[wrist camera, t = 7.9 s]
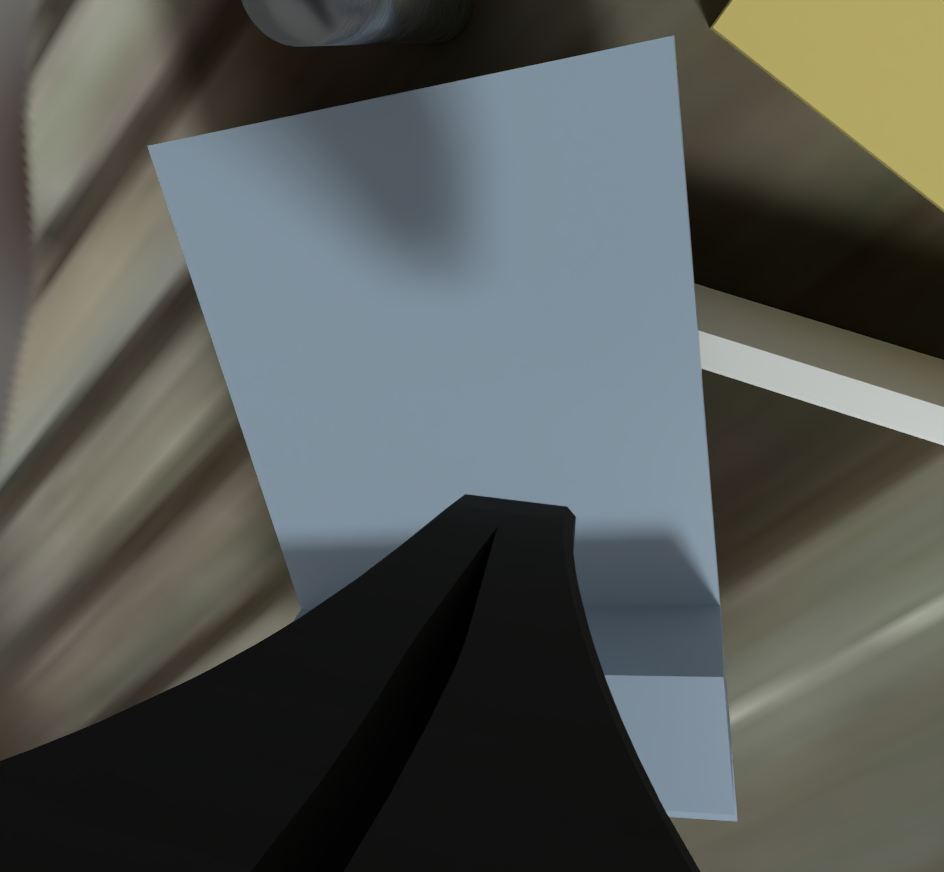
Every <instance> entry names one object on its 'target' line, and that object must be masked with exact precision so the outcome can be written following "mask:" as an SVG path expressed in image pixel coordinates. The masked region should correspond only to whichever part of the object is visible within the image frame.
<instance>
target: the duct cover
mask: <svg viewBox="0 0 944 872" xmlns="http://www.w3.org/2000/svg"><path fill="white" fill-rule="evenodd" d="M148 149H149V152H150V155H151V158H152V161H153V164H154V167H155V170H156V173H157V176H158V179H159V182H160V185H161V188H162V191H163V194H164V197H165V200H166V203H167V206H168V209H169V212H170V215H171V218H172V221H173V224H174V227H175V230H176V233H177V236H178V239H179V242H180V245H181V248H182V251H183V254H184V257H185V260H186V263H187V266H188V269H189V272H190V275H191V278H192V281H193V284H194V287H195V290H196V293H197V296H198V299H199V302H200V305H201V308H202V312H203V315H204V318H205V321H206V324H207V327H208V330H209V333H210V336H211V339H212V342H213V345H214V348H215V351H216V354H217V357H218V360H219V363H220V366H221V369H222V372H223V375H224V378H225V381H226V384H227V387H228V390H229V393H230V396H231V399H232V402H233V405H234V408H235V411H236V414H237V417H238V420H239V423H240V426H241V429H242V432H243V435H244V438H245V441H246V444H247V447H248V450H249V453H250V456H251V459H252V462H253V465H254V468H255V471H256V474H257V477H258V480H259V483H260V486H261V489H262V492H263V495H264V498H265V501H266V504H267V507H268V510H269V513H270V516H271V519H272V522H273V525H274V528H275V531H276V534H277V537H278V540H279V543H280V546H281V549H282V552H283V555H284V558H285V561H286V564H287V567H288V570H289V573H290V576H291V579H292V582H293V585H294V588H295V591H296V594H297V597H298V600H299V603H300V606H301V611H300V612H299V614H298V615H297V617H296V618H295V620H297V619H299V618H300V617H302V616H303V615H304V614H306V613H307V612H309V611H310V610H312V609H313V608H315V607H316V606H318V605H319V604H321V603H322V602H324V601H325V600H326V599H328V598H329V597H331V596H332V595H334V594H335V593H337V592H338V591H340V590H341V589H343V588H344V587H346V586H347V585H348V584H350V583H351V582H353V581H354V580H356V579H357V578H358V577H360V576H361V575H362V574H364V573H365V572H366V571H368V570H369V569H370V568H371V567H373V566H374V565H375V564H377V563H378V562H379V561H381V560H382V559H383V558H385V557H386V556H387V555H389V554H390V553H391V552H393V551H394V550H395V549H396V548H398V547H399V546H400V545H401V544H403V543H404V542H405V541H406V540H408V539H409V538H410V537H411V536H413V535H414V534H415V533H416V532H418V531H419V530H420V529H421V528H423V527H424V526H425V525H426V524H428V523H429V522H430V521H431V520H433V519H434V518H435V517H436V516H437V515H439V514H440V513H441V512H442V511H444V510H445V509H446V508H448V507H449V506H450V505H451V504H453V503H454V502H455V501H457V500H458V499H459V498H461V497H462V496H463V495H465V494H469V495H477V496H485V497H493V498H501V499H510V500H518V501H526V502H534V503H542V504H550V505H558V506H567V507H568V508H569V509H570V510H571V512H572V513H573V514H574V515H575V516H576V523H575V538H574V552H573V554H574V561H575V569H576V575H577V580H578V585H579V590H580V594H581V598H582V602H583V606H584V610H585V614H586V618H587V622H588V626H589V629H590V633H591V636H592V639H593V643H594V646H595V649H596V652H597V655H598V658H599V661H600V664H601V667H602V669H603V672H604V675H605V678H606V681H607V684H608V686H609V689H610V691H611V694H612V697H613V699H614V702H615V704H616V707H617V709H618V712H619V714H620V717H621V719H622V721H623V724H624V726H625V728H626V730H627V733H628V735H629V737H630V739H631V741H632V744H633V746H634V748H635V750H636V753H637V755H638V757H639V759H640V761H641V763H642V765H643V767H644V769H645V771H646V773H647V775H648V777H649V779H650V781H651V783H652V785H653V787H654V789H655V791H656V793H657V795H658V798H659V800H660V802H661V803H662V805H663V807H664V809H665V811H666V813H667V815H668V816H669V817H679V818H694V819H709V820H724V821H737V806H736V792H735V779H734V767H733V754H732V742H731V730H730V717H729V705H728V692H727V680H726V668H725V655H724V643H723V630H722V618H721V606H720V593H719V581H718V568H717V556H716V544H715V531H714V519H713V507H712V494H711V482H710V469H709V457H708V445H707V432H706V420H705V407H704V395H703V383H702V370H701V358H700V345H699V333H698V321H697V308H696V296H695V283H694V271H693V259H692V246H691V234H690V221H689V209H688V197H687V184H686V172H685V160H684V147H683V135H682V122H681V110H680V98H679V85H678V73H677V60H676V48H675V36H669V37H665V38H660V39H655V40H650V41H645V42H641V43H636V44H631V45H626V46H622V47H617V48H612V49H607V50H603V51H598V52H593V53H588V54H584V55H579V56H574V57H569V58H564V59H560V60H555V61H550V62H545V63H541V64H536V65H531V66H526V67H522V68H517V69H512V70H507V71H503V72H498V73H493V74H488V75H483V76H479V77H474V78H469V79H464V80H460V81H455V82H450V83H445V84H441V85H436V86H431V87H426V88H422V89H417V90H412V91H407V92H402V93H398V94H393V95H388V96H383V97H379V98H374V99H369V100H364V101H360V102H355V103H350V104H345V105H341V106H336V107H331V108H326V109H322V110H317V111H312V112H307V113H302V114H298V115H293V116H288V117H283V118H279V119H274V120H269V121H264V122H260V123H255V124H250V125H245V126H241V127H236V128H231V129H226V130H221V131H217V132H212V133H207V134H202V135H198V136H193V137H188V138H183V139H179V140H174V141H169V142H164V143H160V144H155V145H150V146H148ZM295 620H294V621H295ZM294 621H293V622H294Z"/></svg>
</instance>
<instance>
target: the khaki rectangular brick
mask: <svg viewBox="0 0 944 872" xmlns="http://www.w3.org/2000/svg"><path fill="white" fill-rule="evenodd" d="M710 29H711V30H713V31H714V32H715V33H716V34H718V35H719V36H720V37H722V38H723V39H724V40H725V41H727V42H728V43H729V44H730V45H732V46H733V47H734V48H736V49H737V50H738V51H739V52H741V53H742V54H743V55H744V56H746V57H747V58H748V59H749V60H751V61H752V62H753V63H755V64H756V65H757V66H758V67H760V68H761V69H762V70H763V71H765V72H766V73H767V74H769V75H770V76H771V77H772V78H774V79H775V80H776V81H777V82H779V83H780V84H781V85H783V86H784V87H785V88H786V89H788V90H789V91H790V92H791V93H793V94H794V95H795V96H797V97H798V98H799V99H800V100H802V101H803V102H804V103H805V104H807V105H808V106H809V107H810V108H812V109H813V110H814V111H816V112H817V113H818V114H819V115H821V116H822V117H823V118H824V119H826V120H827V121H828V122H830V123H831V124H832V125H833V126H835V127H836V128H837V129H838V130H840V131H841V132H842V133H844V134H845V135H846V136H847V137H849V138H850V139H851V140H852V141H854V142H855V143H856V144H857V145H859V146H860V147H861V148H863V149H864V150H865V151H866V152H868V153H869V154H870V155H871V156H873V157H874V158H875V159H877V160H878V161H879V162H880V163H882V164H883V165H884V166H885V167H887V168H888V169H889V170H891V171H892V172H893V173H894V174H896V175H897V176H898V177H899V178H901V179H902V180H903V181H904V182H906V183H907V184H908V185H910V186H911V187H912V188H913V189H915V190H916V191H917V192H918V193H920V194H921V195H922V196H924V197H925V198H926V199H927V200H929V201H930V202H931V203H932V204H934V205H935V206H936V207H938V208H939V209H940V210H941V211H943V212H944V0H730V1H729V2H728V4H727V5H726V6H725V8H724V9H723V10H722V12H721V13H720V14H719V16H718V17H717V19H716V20H715V21H714V23H713V24H712V25H711V27H710Z"/></svg>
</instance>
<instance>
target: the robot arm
mask: <svg viewBox="0 0 944 872" xmlns="http://www.w3.org/2000/svg"><path fill="white" fill-rule="evenodd" d="M575 523H576V516H575V515H574V514H573V513H572V512H571V510H570V509H569V508H568V507H567V506H558V505H550V504H542V503H534V502H526V501H518V500H510V499H501V498H493V497H485V496H477V495H469V494H465V495H463V496H462V497H461V498H459V499H458V500H457V501H455V502H454V503H453V504H451V505H450V506H449V507H448V508H446V509H445V510H444V511H442V512H441V513H440V514H439V515H437V516H436V517H435V518H434V519H433V520H431V521H430V522H429V523H428V524H426V525H425V526H424V527H423V528H421V529H420V530H419V531H418V532H416V533H415V534H414V535H413V536H411V537H410V538H409V539H408V540H406V541H405V542H404V543H403V544H401V545H400V546H399V547H398V548H396V549H395V550H394V551H393V552H391V553H390V554H389V555H387V556H386V557H385V558H383V559H382V560H381V561H379V562H378V563H377V564H375V565H374V566H373V567H371V568H370V569H369V570H368V571H366V572H365V573H364V574H362V575H361V576H360V577H358V578H357V579H356V580H354V581H353V582H351V583H350V584H348V585H347V586H346V587H344V588H343V589H341V590H340V591H338V592H337V593H335V594H334V595H332V596H331V597H329V598H328V599H326V600H325V601H324V602H322V603H321V604H319V605H318V606H316V607H315V608H313V609H312V610H310V611H309V612H307V613H306V614H304V615H303V616H302V617H300V618H299V619H297V620H295V621H294V622H292V623H291V624H289V625H287V626H286V627H284V628H283V629H281V630H279V631H278V632H276V633H274V634H273V635H271V636H269V637H268V638H266V639H264V640H263V641H261V642H259V643H257V644H256V645H254V646H252V647H250V648H248V649H247V650H245V651H243V652H241V653H239V654H238V655H236V656H234V657H232V658H230V659H228V660H227V661H225V662H223V663H221V664H219V665H218V666H216V667H214V668H212V669H210V670H208V671H206V672H204V673H202V674H200V675H199V676H197V677H195V678H193V679H191V680H188V681H186V682H184V683H182V684H180V685H178V686H176V687H173V688H171V689H169V690H167V691H165V692H163V693H161V694H158V695H156V696H154V697H152V698H150V699H148V700H145V701H143V702H141V703H139V704H137V705H135V706H133V707H130V708H128V709H126V710H124V711H122V712H120V713H118V714H115V715H113V716H111V717H109V718H107V719H105V720H102V721H100V722H98V723H96V724H93V725H91V726H89V727H86V728H84V729H81V730H79V731H76V732H74V733H71V734H69V735H66V736H64V737H61V738H59V739H57V740H54V741H52V742H49V743H47V744H44V745H42V746H39V747H37V748H34V749H32V750H29V751H26V752H24V753H21V754H18V755H15V756H13V757H10V758H7V759H5V760H2V761H0V872H700V870H699V869H698V867H697V865H696V863H695V862H694V860H693V858H692V856H691V855H690V853H689V851H688V849H687V848H686V846H685V844H684V842H683V841H682V839H681V837H680V835H679V834H678V832H677V830H676V829H675V827H674V825H673V823H672V822H671V820H670V818H669V816H668V815H667V813H666V811H665V809H664V807H663V805H662V803H661V802H660V800H659V798H658V795H657V793H656V791H655V789H654V787H653V785H652V783H651V781H650V779H649V777H648V775H647V773H646V771H645V769H644V767H643V765H642V763H641V761H640V759H639V757H638V755H637V753H636V750H635V748H634V746H633V744H632V741H631V739H630V737H629V735H628V733H627V730H626V728H625V726H624V724H623V721H622V719H621V717H620V714H619V712H618V709H617V707H616V704H615V702H614V699H613V697H612V694H611V691H610V689H609V686H608V684H607V681H606V678H605V675H604V672H603V669H602V667H601V664H600V661H599V658H598V655H597V652H596V649H595V646H594V643H593V639H592V636H591V633H590V629H589V626H588V622H587V618H586V614H585V610H584V606H583V602H582V598H581V594H580V590H579V585H578V580H577V575H576V569H575V561H574V554H573V552H574V538H575Z"/></svg>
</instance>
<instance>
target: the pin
mask: <svg viewBox="0 0 944 872" xmlns="http://www.w3.org/2000/svg"><path fill="white" fill-rule="evenodd" d="M241 1H242V4H243V6H244V8H245V10H246V12H247V14H248V16H249V17H250V18H251V20H252V21H253V23H254V24H255V25H256V26H257V27H258V28H259V29H260V30H261V31H262V32H263V33H264V34H265V35H267V36H268V37H269V38H271V39H273V40H275V41H276V42H279V43H281V44H284V45H288V46H297V47H302V46H339V45H376V44H414V43H441V42H446V41H448V40H451V39H453V38H454V37H456V36H457V35H458V34H460V33H461V31H462V30H463V29H464V28H465V26H466V25H467V23H468V21H469V19H470V17H471V14H472V10H473V3H474V0H241Z"/></svg>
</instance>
